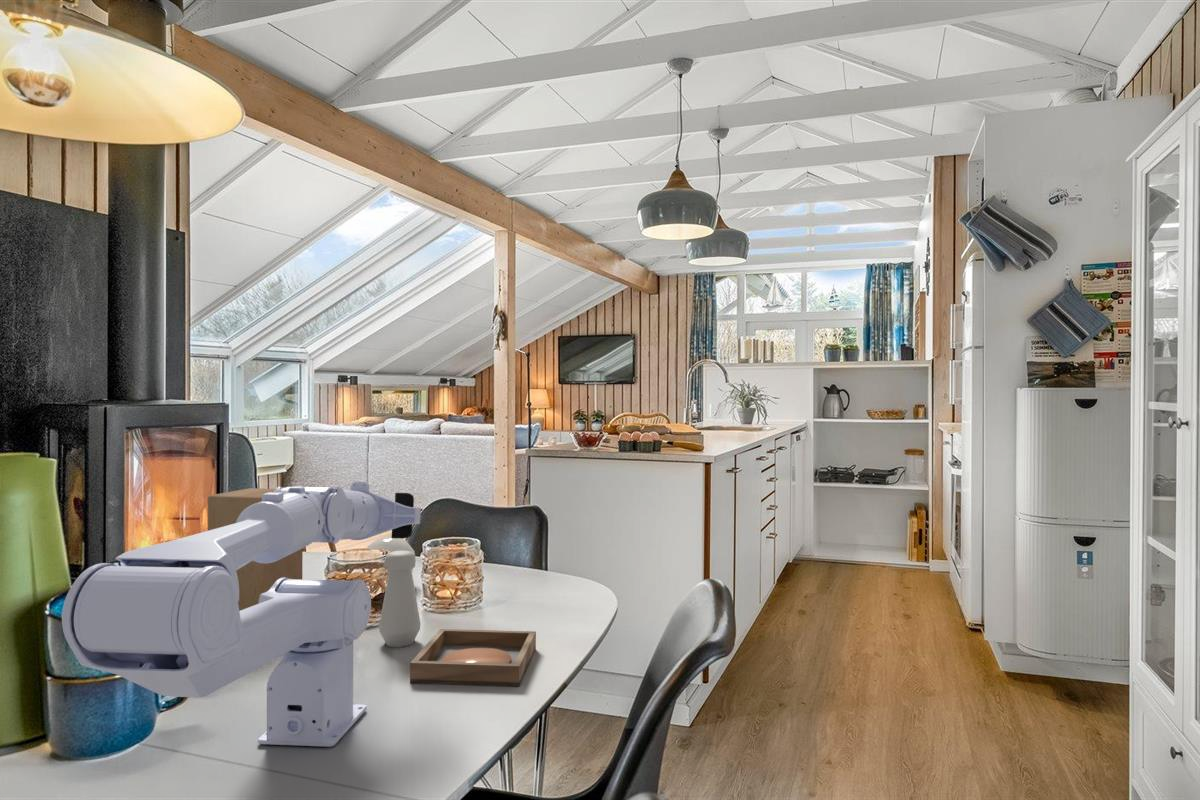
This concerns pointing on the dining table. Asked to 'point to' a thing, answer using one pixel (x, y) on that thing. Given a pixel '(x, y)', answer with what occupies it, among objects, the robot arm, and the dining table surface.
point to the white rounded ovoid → (391, 544)
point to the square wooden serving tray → (446, 641)
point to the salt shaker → (399, 601)
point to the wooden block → (253, 574)
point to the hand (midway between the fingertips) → (383, 515)
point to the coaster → (478, 656)
